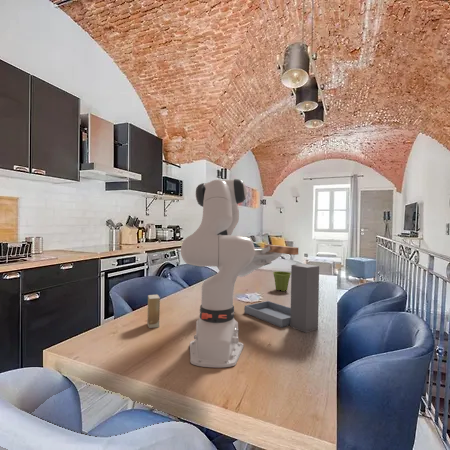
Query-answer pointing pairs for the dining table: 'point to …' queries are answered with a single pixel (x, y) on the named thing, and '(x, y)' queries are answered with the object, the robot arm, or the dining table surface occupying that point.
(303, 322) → the post
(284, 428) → the dining table surface
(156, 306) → the skincare box
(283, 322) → the tray
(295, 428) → the dining table surface
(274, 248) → the rectangular block
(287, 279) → the plant pot
